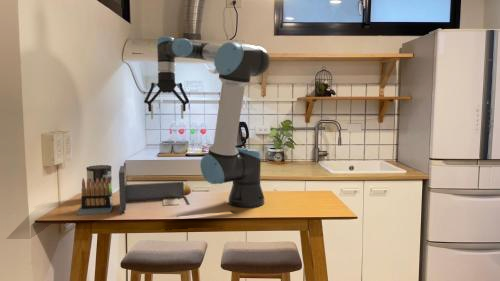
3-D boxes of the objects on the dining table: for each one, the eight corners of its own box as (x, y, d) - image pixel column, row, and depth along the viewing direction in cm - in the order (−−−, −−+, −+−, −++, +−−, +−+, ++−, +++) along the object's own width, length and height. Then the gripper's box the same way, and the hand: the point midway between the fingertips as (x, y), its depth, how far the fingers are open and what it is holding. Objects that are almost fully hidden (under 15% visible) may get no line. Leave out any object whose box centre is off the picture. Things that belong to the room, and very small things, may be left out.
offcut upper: (177, 201, 165) (177, 198, 165) (178, 207, 155) (178, 204, 155) (163, 201, 164) (163, 199, 164) (163, 207, 154) (163, 205, 154)
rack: (185, 199, 170) (184, 163, 168) (190, 209, 154) (189, 169, 153) (121, 203, 162) (120, 165, 161) (120, 214, 147) (118, 172, 145)
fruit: (193, 197, 172) (187, 180, 170) (170, 205, 170) (164, 188, 168) (191, 191, 182) (186, 175, 181) (169, 199, 181) (164, 183, 179)
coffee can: (117, 196, 176) (116, 165, 175) (104, 201, 166) (102, 169, 165) (96, 195, 178) (95, 164, 177) (82, 200, 168) (81, 168, 167)
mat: (112, 203, 162) (112, 202, 162) (110, 212, 149) (110, 211, 149) (81, 205, 159) (81, 204, 159) (76, 215, 145) (76, 213, 145)
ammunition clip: (81, 208, 152) (80, 178, 151) (82, 207, 154) (81, 177, 153) (109, 207, 154) (108, 178, 152) (110, 206, 155) (109, 177, 154)
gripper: (192, 73, 184) (193, 118, 186) (137, 72, 177) (139, 118, 179) (194, 72, 177) (195, 118, 179) (137, 70, 170) (139, 119, 172)
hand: (167, 118), depth 179 cm, fingers open, 13 cm apart
